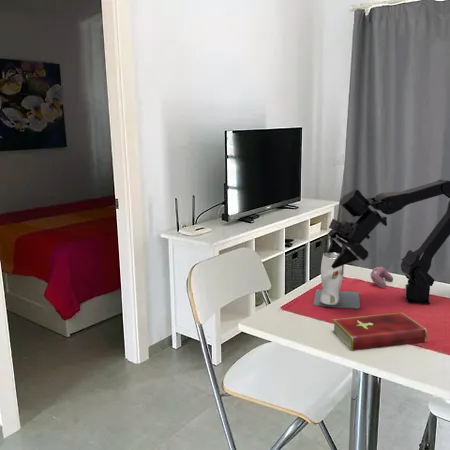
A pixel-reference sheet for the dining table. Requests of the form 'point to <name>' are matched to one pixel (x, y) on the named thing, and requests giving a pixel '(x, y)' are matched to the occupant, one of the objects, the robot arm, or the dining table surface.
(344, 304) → the coaster
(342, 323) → the hardcover book
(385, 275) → the video game controller
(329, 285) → the beer glass
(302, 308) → the dining table surface
